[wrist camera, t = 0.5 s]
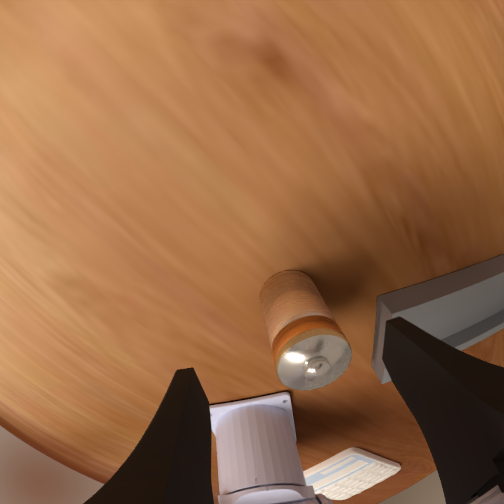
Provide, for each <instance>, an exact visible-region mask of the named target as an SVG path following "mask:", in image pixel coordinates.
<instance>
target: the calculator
mask: <svg viewBox="0 0 504 504" xmlns="http://www.w3.org/2000/svg"><path fill="white" fill-rule="evenodd" d="M400 469H401V467H400V465H399V464H398V463H396V462H393V461H390V460H388V459H385V458H382V457H380V456H377V455H375V454H372V453H370V452H367V451H365V450H362V449H360V448H357V447H351V448H348V449H346V450H344V451H342V452H340V453H338V454H337V455H335V456H333V457H331V458H329V459H327V460H325V461H323V462H322V463H320V464H318V465H316V466H314V467H312V468H310V469H308V470H305V471H303V473H304V477H305V481H306V485H307V486H310V485H312V486H313V488H314V492H315V494H319V493H321V494H323V495H325V496H326V497H327V498H329V499H335V500H345V499H347V498H350V497H351V496H353V495H355V494H358V493H360V492H362V491H363V490H365V489H368V488H370V487H372V486H374V485H375V484H377V483H379V482H381V481H383V480H385V479H386V478H388V477H390V476H392V475H394V474H395V473H397V472H398V471H399V470H400Z"/></svg>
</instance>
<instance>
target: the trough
mask: <svg viewBox="0 0 504 504" xmlns="http://www.w3.org/2000/svg"><path fill="white" fill-rule="evenodd" d="M399 316H400V317H402V318H404V319H405V320H407V321H409V322H411V323H412V324H414V325H416V326H417V327H419V328H421V329H422V330H424V331H426V332H427V333H429V334H431V335H432V336H434V337H436V338H438V339H439V340H441V341H443V342H445V343H447V344H448V345H450V346H452V347H454V348H456V349H458V350H460V351H462V350H464V349H466V348H468V347H470V346H472V345H474V344H476V343H478V342H479V341H481V340H483V339H485V338H487V337H489V336H491V335H492V334H494V333H496V332H498V331H499V330H501V329H503V328H504V254H502V255H500V256H497V257H495V258H492V259H489V260H487V261H484V262H481V263H478V264H476V265H473V266H470V267H467V268H464V269H462V270H459V271H456V272H453V273H450V274H447V275H444V276H441V277H438V278H435V279H432V280H429V281H426V282H423V283H419V284H416V285H413V286H410V287H407V288H403V289H400V290H397V291H393V292H390V293H386V294H383V295H380V296H377V312H376V325H375V337H374V347H373V357H372V365H371V366H372V368H373V369H374V371H375V373H376V375H377V376H378V378H379V380H380V382H381V383H382V384H384V383H387V382H389V381H392V380H391V378H390V376H389V374H388V371H387V369H386V367H385V365H384V362H383V360H382V354H383V346H384V336H385V325H386V321H387V320H390V319H393V318H396V317H399Z"/></svg>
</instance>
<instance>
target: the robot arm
mask: <svg viewBox="0 0 504 504" xmlns="http://www.w3.org/2000/svg"><path fill="white" fill-rule="evenodd" d="M382 360H383V362H384V365H385V367H386V369H387V371H388V374H389V376H390V378H391V380H392V382H393V383H394V385H395V386H396V388H397V390H398V391H399V393H400V395H401V396H402V398H403V399H404V401H405V403H406V404H407V406H408V407H409V409H410V411H411V412H412V414H413V415H414V417H415V419H416V420H417V422H418V424H419V426H420V428H421V430H422V432H423V434H424V437H425V439H426V441H427V444H428V446H429V449H430V451H431V454H432V456H433V459H434V462H435V465H436V468H437V470H438V474H439V477H440V480H441V484H442V488H443V492H444V496H445V500H446V504H470V503H471V504H504V368H503V367H500V366H497V365H494V364H491V363H488V362H485V361H483V360H480V359H478V358H475V357H473V356H471V355H468V354H466V353H464V352H462V351H460V350H458V349H456V348H454V347H452V346H450V345H448V344H447V343H445V342H443V341H441V340H439V339H438V338H436V337H434V336H432V335H431V334H429V333H427V332H426V331H424V330H422V329H421V328H419V327H417V326H416V325H414V324H412V323H411V322H409V321H407V320H405V319H404V318H402V317H400V316H399V317H396V318H393V319H390V320H387V321H386V325H385V336H384V346H383V354H382ZM211 429H212V431H213V433H214V434H215V436H216V444H217V461H218V476H219V490H220V495H219V496H218V502H219V504H333V502H332V501H331V500H330V499H329V498H327V497H326V496H325V495H323V494H321V493H319V494H315V492H314V488H313V486H312V485H310V486H307V485H306V481H305V477H304V473H303V470H302V466H301V462H300V458H299V454H298V450H297V446H296V441H297V439H296V432H295V425H294V419H293V412H292V405H291V399H290V394H289V393H288V392H282V393H277V394H273V395H268V396H263V397H258V398H253V399H247V400H242V401H236V402H230V403H224V404H217V405H211V406H209V401H208V399H207V397H206V395H205V392H204V390H203V388H202V386H201V384H200V382H199V379H198V377H197V375H196V373H195V370H194V368H186V369H180V370H177V371H176V372H175V374H174V376H173V379H172V381H171V383H170V385H169V388H168V390H167V392H166V394H165V396H164V398H163V400H162V402H161V404H160V406H159V408H158V410H157V412H156V414H155V416H154V418H153V419H152V421H151V423H150V425H149V426H148V428H147V430H146V431H145V433H144V435H143V437H142V438H141V440H140V441H139V443H138V444H137V446H136V447H135V449H134V450H133V451H132V453H131V454H130V456H129V457H128V458H127V460H126V461H125V462H124V463H123V465H122V466H121V467H120V468H119V469H118V471H117V472H116V473H115V474H114V475H113V476H112V477H111V479H110V480H109V481H108V482H107V483H106V484H105V485H104V486H103V487H102V488H101V489H99V490H98V491H97V492H96V493H95V494H94V495H93V496H92V497H91V498H90V499H88V500H87V501H86V502H85V503H84V504H214V501H213V493H212V485H211ZM476 499H477V500H476ZM473 501H474V502H473Z"/></svg>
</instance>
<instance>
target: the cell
mask: <svg viewBox="0 0 504 504" xmlns="http://www.w3.org/2000/svg"><path fill="white" fill-rule="evenodd" d="M260 304H261V308H262V312H263V316H264V320H265V324H266V328H267V332H268V336H269V340H270V344H271V348H272V349H271V350H272V356H273V360H274V364H275V368H276V372H277V376H278V378H279V380H280V381H281V382H282V383H283V384H284V385H286V386H287V387H289V388H292V389H295V390H313V389H317V388H320V387H323V386H326V385H328V384H330V383H331V382H333V381H335V380H336V379H337V378H339V377H340V376H341V375H342V374H343V373H344V372H345V370H346V369H347V367H348V366H349V364H350V361H351V356H352V350H351V347H350V344H349V343H348V341H347V339H346V337H345V335H344V334H343V332H342V330H341V328H340V326H339V325H338V324H337V323H336V321H335V319H334V318H333V316H332V314H331V312H330V310H329V309H328V307H327V305H326V303H325V302H324V300H323V298H322V296H321V295H320V293H319V291H318V289H317V288H316V286H315V284H314V282H313V281H312V279H311V278H310V277H309V276H308V275H306V274H305V273H303V272H300V271H296V270H287V271H282V272H279V273H277V274H275V275H273V276H272V277H270V278H269V279H268V280H267V281H266V282H265V284H264V285H263V287H262V289H261V292H260Z"/></svg>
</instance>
